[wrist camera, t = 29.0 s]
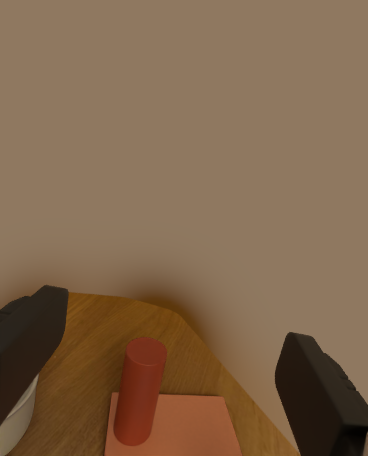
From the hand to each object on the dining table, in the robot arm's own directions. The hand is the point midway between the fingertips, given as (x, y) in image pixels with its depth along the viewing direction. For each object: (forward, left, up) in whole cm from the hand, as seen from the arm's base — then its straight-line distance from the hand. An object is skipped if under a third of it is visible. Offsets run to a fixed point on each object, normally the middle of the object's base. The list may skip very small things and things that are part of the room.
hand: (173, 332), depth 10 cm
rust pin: (-2, -18, -26) cm, 32 cm away
